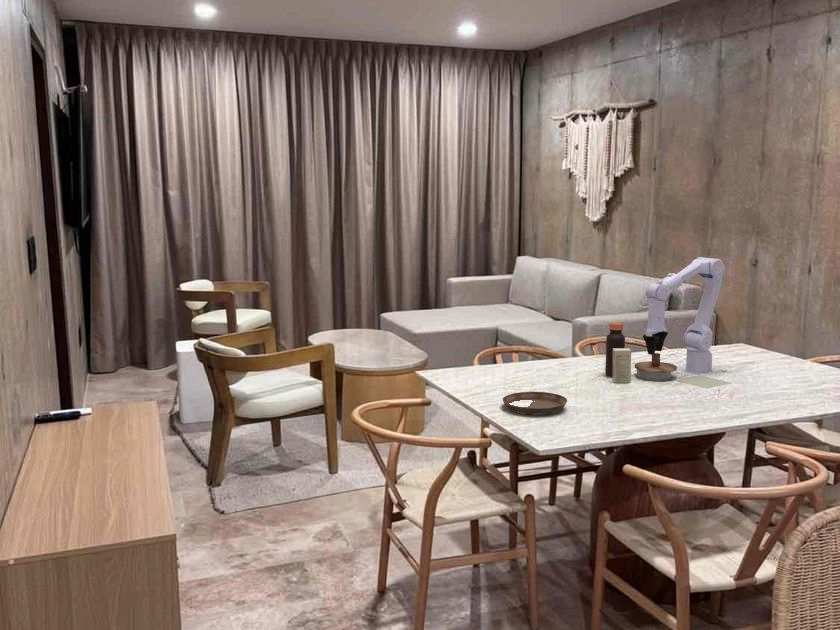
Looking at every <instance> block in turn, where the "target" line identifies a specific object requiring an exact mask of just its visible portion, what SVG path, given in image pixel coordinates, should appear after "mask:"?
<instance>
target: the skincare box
mask: <svg viewBox="0 0 840 630" xmlns="http://www.w3.org/2000/svg"><path fill="white" fill-rule="evenodd" d="M611 379H612V382H613V384H628V383H629V384H630V383H632V349H630V348H629V347H628V348H626V347H625V348H613V365H612V377H611Z"/></svg>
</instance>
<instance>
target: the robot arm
mask: <svg viewBox="0 0 840 630" xmlns="http://www.w3.org/2000/svg"><path fill="white" fill-rule="evenodd" d="M725 268H726V265H725V264H724V262H723V260H722V259H720V258H712V257H704V256H698V257H697V258H695V259H693V260H692V262H691V263H690V264H688V266H686V267H684V268H682V270H680V271H679V272H678V273H668V274H667V275H666V276H665V277H664V278H662V279H659V280H658V281H657V282H656V283H654V282H653V283H651V284H649V285H648V286H647V288H646V290H645V296H646V298H647V302H648V311H647V312H648V313H647V315H648V317H647V329H646V331H645V334H643V335H642V338H643V340H644V342H645V346H646V350H647V355H651V356H652V355H654V354H655V353H656V352H662V350H663V347H664V344H665V340H666V338H667V336H668V334H669V332H668V328H666V325H665V311H666V310H665V309H666V300H667V299H668V298H669V296H670V294H671V293H672V292H675V291H676V290H677V289H679V288H681V287H682V285H683V282H684V281H686V280H688V279H690V278H692V277H693V276H695V275H698V276H699V277H700V278H701V279H702V281H704V283H705V284H704V289H703V291H702V295H701V299H700V302H699V305H698V308H697V313H696V316H695V319H694V323H692V324H690V325H689V326H688V327H687V329H686V332H685V333H684V334H683V337H682V343H683V345H684V346H685V349H686V361H685V369H683V370H680V371H681V372H683V373H689V374H691V375H695V376H699V375H704V374H708V373H713V372H714V371H713V370H712V367H713V354H712V352H711V350H710V349H711V347H712V344H713V335H714V332H713V331H712V329H710V324H711V321H712V318H713V314H714V311H715V307H716V305H717V301H718V297H719V294H720V290H721V288H722V287H721V286H722V283H723V276H724V273H725Z"/></svg>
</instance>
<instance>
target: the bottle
mask: <svg viewBox="0 0 840 630" xmlns="http://www.w3.org/2000/svg"><path fill="white" fill-rule="evenodd" d="M608 326H609V327H608V328H609V333H608V334H607V335H606V337H605V338H606V339H605V340H606V341H605V344H606V346H605V370H604V371H605V372H604V373H605V376H606V377H607V378H608V377H610V378H612V365H613V348H626V336H625V335H624V334H623V331H624V330H623V329H624V324H623V322H610V323H609V325H608Z"/></svg>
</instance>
